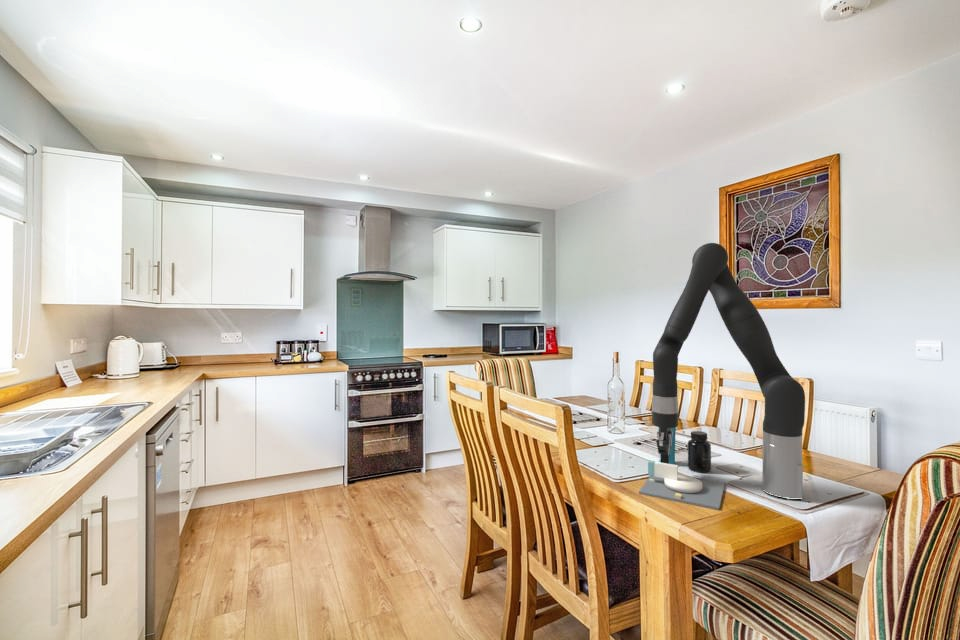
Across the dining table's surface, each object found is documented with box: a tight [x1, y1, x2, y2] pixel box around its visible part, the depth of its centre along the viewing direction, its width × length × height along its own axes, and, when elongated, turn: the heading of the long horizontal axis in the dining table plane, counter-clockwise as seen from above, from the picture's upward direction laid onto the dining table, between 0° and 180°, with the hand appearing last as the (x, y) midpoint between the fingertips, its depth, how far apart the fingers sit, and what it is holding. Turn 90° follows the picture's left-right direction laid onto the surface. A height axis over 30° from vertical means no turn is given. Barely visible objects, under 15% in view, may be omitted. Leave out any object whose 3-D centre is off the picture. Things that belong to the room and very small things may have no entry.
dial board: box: [638, 473, 726, 511], centre depth 130 cm, size 20×20×1 cm
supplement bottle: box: [687, 430, 712, 474], centre depth 146 cm, size 7×7×12 cm
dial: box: [647, 460, 702, 493], centre depth 131 cm, size 14×10×6 cm
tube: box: [657, 426, 677, 465], centre depth 152 cm, size 7×5×19 cm, turn 39°
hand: (664, 466), depth 138 cm, fingers closed
